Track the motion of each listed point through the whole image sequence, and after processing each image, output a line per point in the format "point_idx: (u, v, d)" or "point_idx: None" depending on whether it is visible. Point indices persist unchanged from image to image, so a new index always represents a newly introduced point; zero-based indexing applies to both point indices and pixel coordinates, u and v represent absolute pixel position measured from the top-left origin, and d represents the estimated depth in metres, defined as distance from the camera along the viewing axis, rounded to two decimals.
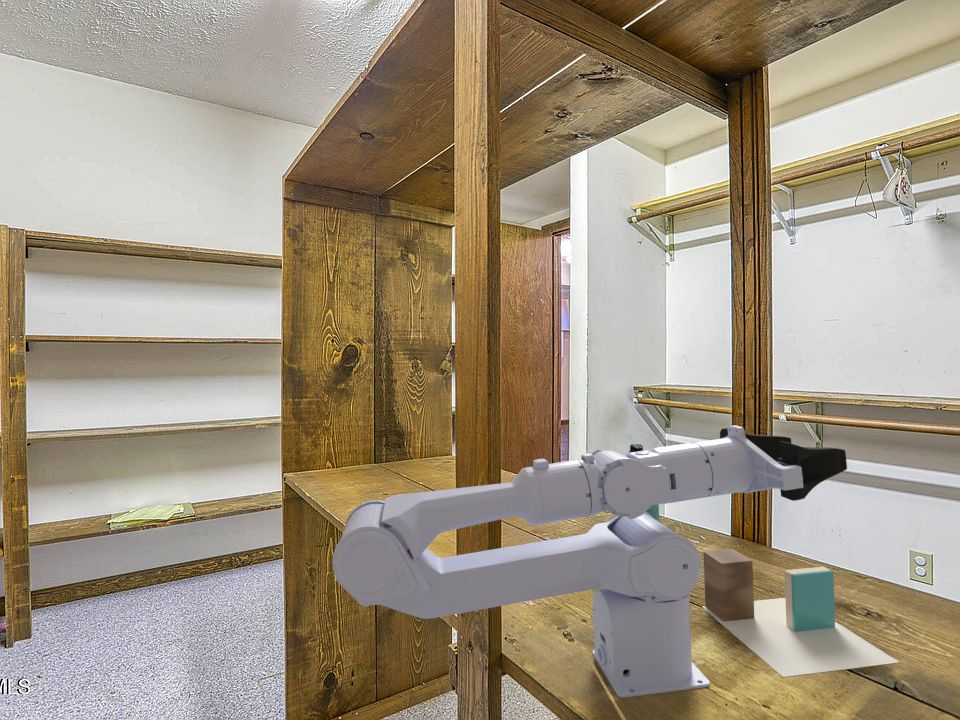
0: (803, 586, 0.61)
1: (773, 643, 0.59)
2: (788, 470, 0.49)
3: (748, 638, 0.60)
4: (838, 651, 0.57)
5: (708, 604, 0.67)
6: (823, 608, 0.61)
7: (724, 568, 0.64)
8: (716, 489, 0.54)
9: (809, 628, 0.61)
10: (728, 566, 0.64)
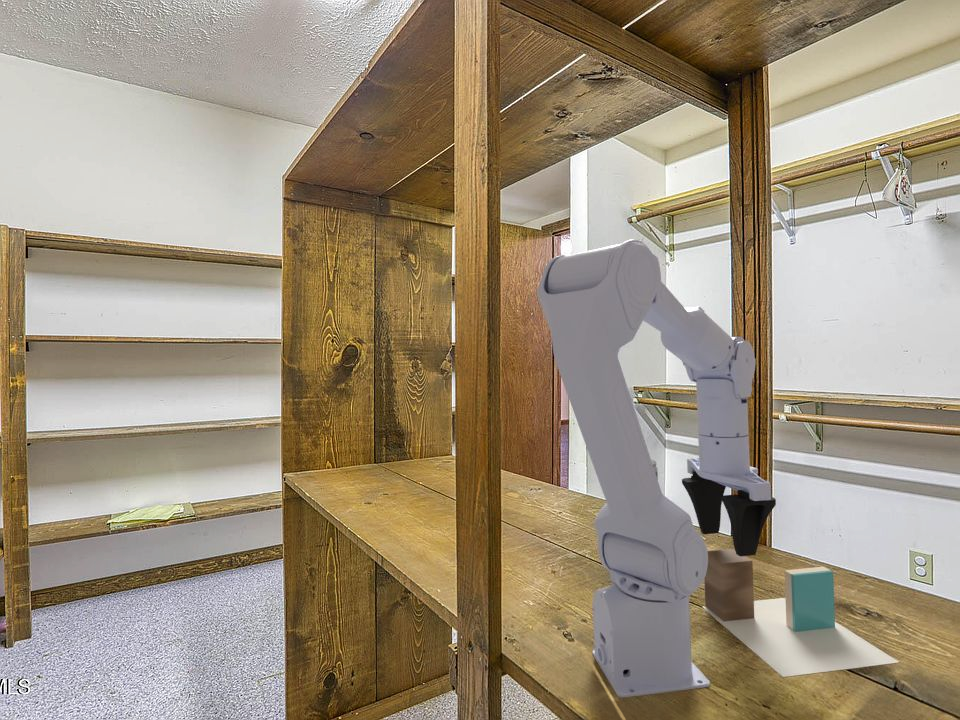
0: (803, 586, 0.61)
1: (773, 643, 0.59)
2: (769, 487, 0.59)
3: (748, 638, 0.60)
4: (838, 651, 0.57)
5: (708, 604, 0.67)
6: (823, 608, 0.61)
7: (724, 568, 0.64)
8: (722, 441, 0.63)
9: (809, 628, 0.61)
10: (728, 566, 0.64)
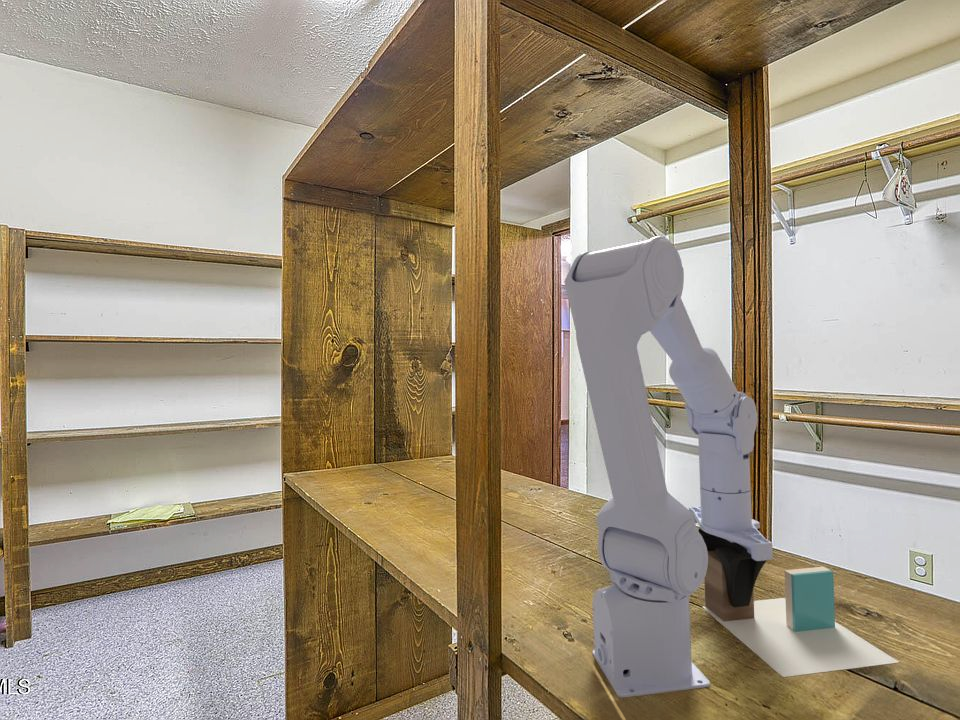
0: (803, 586, 0.61)
1: (773, 643, 0.59)
2: (771, 547, 0.59)
3: (748, 638, 0.60)
4: (838, 651, 0.57)
5: (708, 604, 0.67)
6: (823, 608, 0.61)
7: None
8: (724, 497, 0.63)
9: (809, 628, 0.61)
10: None
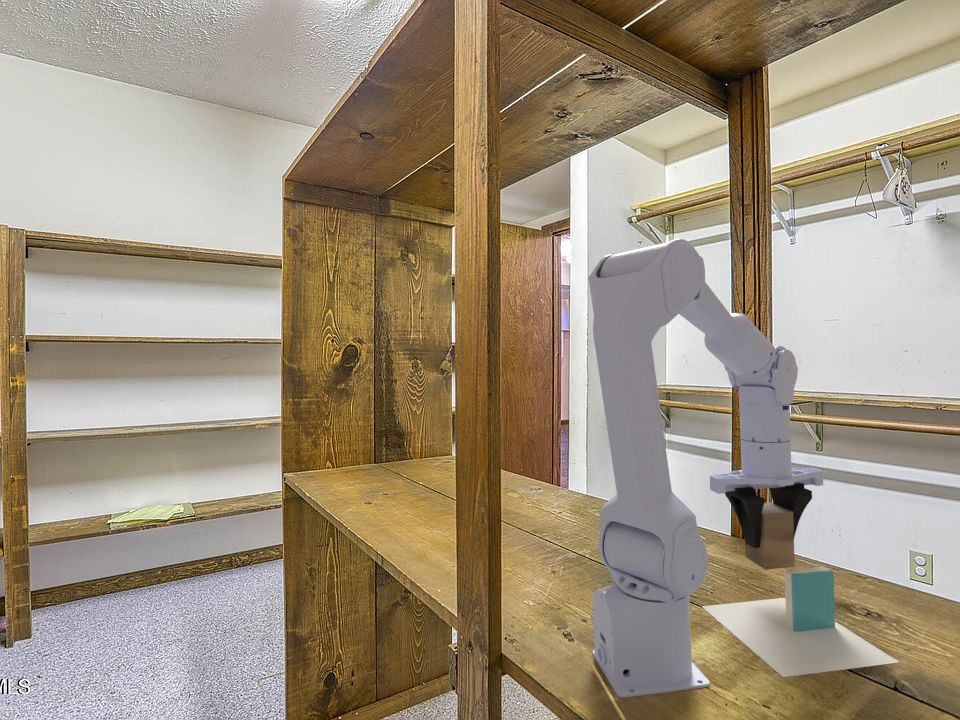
0: (803, 586, 0.61)
1: (773, 643, 0.59)
2: (717, 482, 0.67)
3: (748, 638, 0.60)
4: (838, 651, 0.57)
5: None
6: (823, 608, 0.61)
7: None
8: None
9: (809, 628, 0.61)
10: None
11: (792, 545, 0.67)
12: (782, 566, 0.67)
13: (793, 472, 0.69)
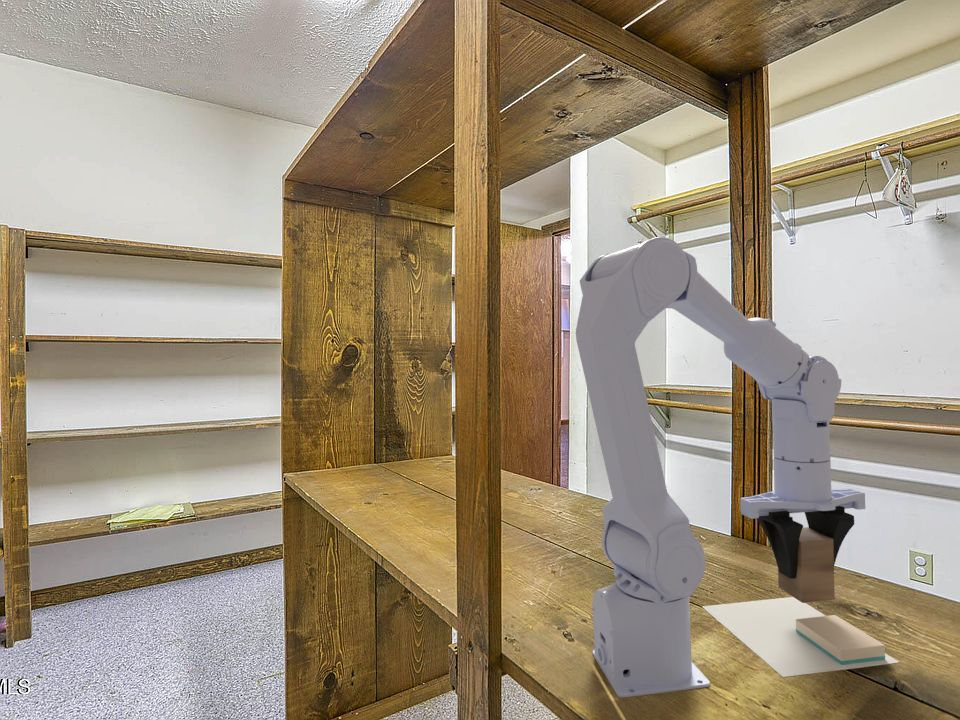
0: None
1: (773, 643, 0.59)
2: (750, 506, 0.61)
3: (748, 638, 0.60)
4: None
5: None
6: None
7: None
8: None
9: None
10: None
11: (832, 576, 0.61)
12: (821, 599, 0.61)
13: (832, 494, 0.63)
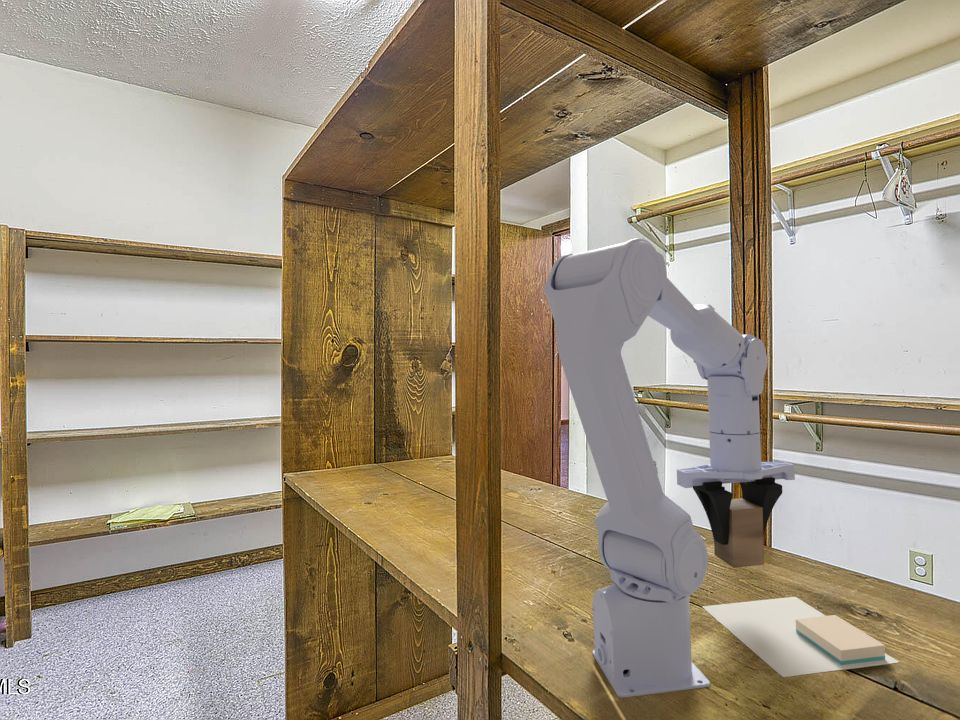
0: None
1: (773, 643, 0.59)
2: (684, 476, 0.64)
3: (748, 638, 0.60)
4: None
5: None
6: None
7: None
8: (709, 434, 0.67)
9: None
10: None
11: (761, 542, 0.64)
12: (751, 564, 0.64)
13: (763, 466, 0.66)
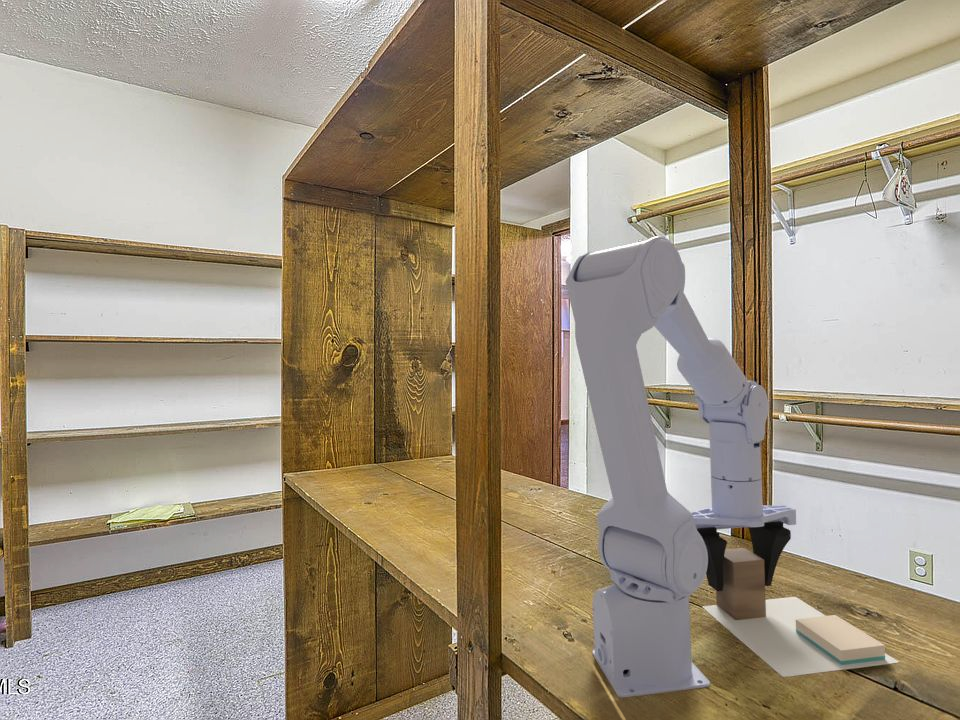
0: None
1: (773, 643, 0.59)
2: None
3: (748, 638, 0.60)
4: None
5: None
6: None
7: None
8: None
9: None
10: None
11: (763, 594, 0.64)
12: (753, 616, 0.64)
13: (765, 510, 0.66)
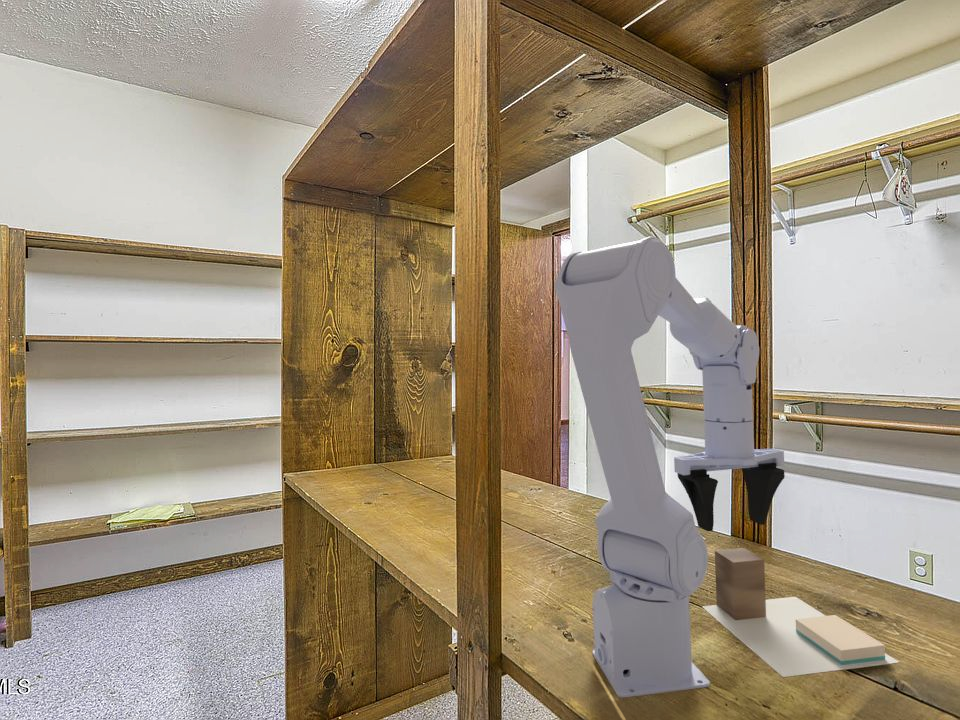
0: None
1: (773, 643, 0.59)
2: (682, 464, 0.66)
3: (748, 638, 0.60)
4: None
5: None
6: None
7: (716, 556, 0.68)
8: (704, 423, 0.69)
9: None
10: (718, 555, 0.67)
11: (763, 594, 0.64)
12: (753, 616, 0.64)
13: (755, 453, 0.69)
